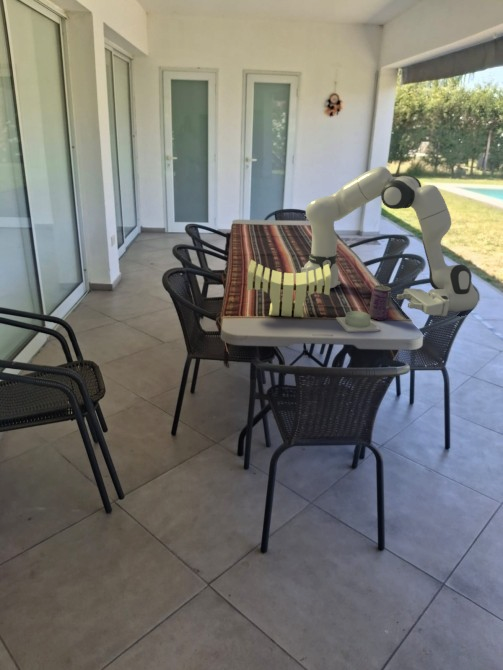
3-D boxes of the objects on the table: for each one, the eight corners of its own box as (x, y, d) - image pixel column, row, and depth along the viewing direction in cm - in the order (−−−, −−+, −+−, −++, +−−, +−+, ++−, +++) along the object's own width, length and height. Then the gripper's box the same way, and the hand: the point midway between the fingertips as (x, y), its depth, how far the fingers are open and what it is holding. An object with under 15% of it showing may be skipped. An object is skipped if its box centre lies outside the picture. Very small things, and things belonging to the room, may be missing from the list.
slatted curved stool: (246, 316, 183) (247, 270, 176) (249, 302, 198) (251, 259, 190) (326, 321, 181) (331, 275, 174) (324, 306, 196) (328, 263, 189)
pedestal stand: (336, 319, 184) (337, 309, 182) (366, 318, 186) (367, 309, 184) (347, 331, 173) (348, 322, 171) (379, 330, 175) (380, 321, 173)
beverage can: (384, 314, 190) (389, 285, 186) (389, 321, 184) (394, 291, 179) (366, 314, 190) (370, 284, 185) (371, 320, 184) (375, 290, 179)
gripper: (424, 284, 197) (392, 284, 194) (452, 301, 178) (417, 302, 176) (421, 299, 199) (390, 299, 197) (448, 317, 181) (414, 318, 178)
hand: (403, 301), depth 186 cm, fingers open, 8 cm apart
